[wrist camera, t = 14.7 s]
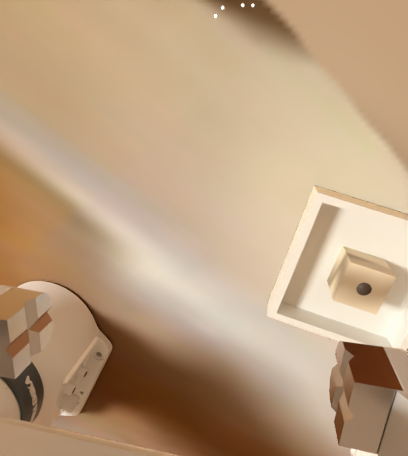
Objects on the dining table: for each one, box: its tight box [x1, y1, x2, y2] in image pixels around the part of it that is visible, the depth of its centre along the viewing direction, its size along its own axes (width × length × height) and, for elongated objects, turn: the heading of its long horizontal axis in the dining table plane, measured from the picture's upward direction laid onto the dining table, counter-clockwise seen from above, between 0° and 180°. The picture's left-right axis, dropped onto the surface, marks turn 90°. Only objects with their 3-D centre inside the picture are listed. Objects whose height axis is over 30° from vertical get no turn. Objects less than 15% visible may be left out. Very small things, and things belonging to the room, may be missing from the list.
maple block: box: [327, 246, 396, 315], centre depth 38 cm, size 4×4×4 cm
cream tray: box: [267, 185, 408, 351], centre depth 39 cm, size 15×15×4 cm
